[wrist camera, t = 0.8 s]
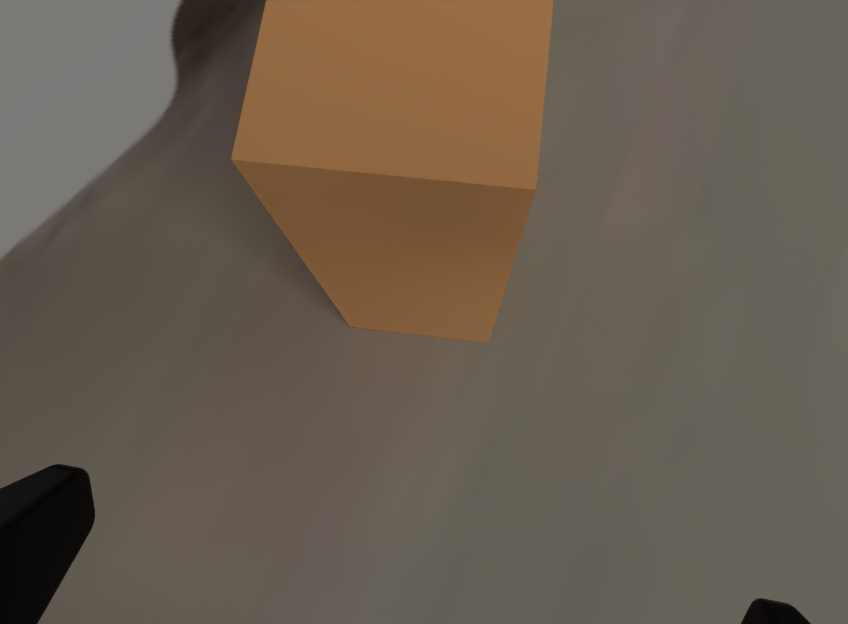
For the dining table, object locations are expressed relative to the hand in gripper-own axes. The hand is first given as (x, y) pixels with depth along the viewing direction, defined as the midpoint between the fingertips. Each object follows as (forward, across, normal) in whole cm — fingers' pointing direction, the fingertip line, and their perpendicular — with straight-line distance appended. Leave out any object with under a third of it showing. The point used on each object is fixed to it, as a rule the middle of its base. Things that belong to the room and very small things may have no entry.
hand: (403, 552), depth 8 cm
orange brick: (+15, +2, +2) cm, 15 cm away
